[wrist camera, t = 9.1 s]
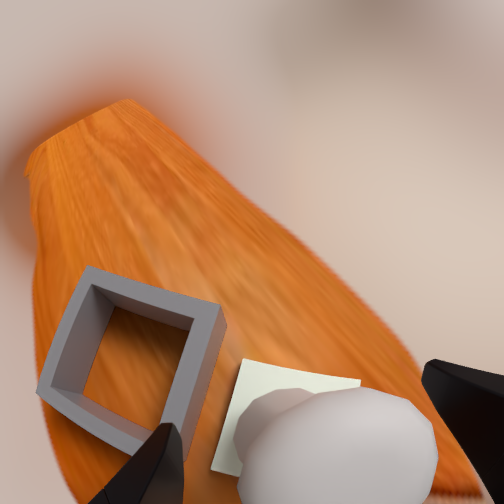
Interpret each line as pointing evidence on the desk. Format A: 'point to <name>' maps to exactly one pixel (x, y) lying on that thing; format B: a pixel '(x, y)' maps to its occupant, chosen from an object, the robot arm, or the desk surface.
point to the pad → (258, 384)
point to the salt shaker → (334, 449)
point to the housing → (89, 337)
